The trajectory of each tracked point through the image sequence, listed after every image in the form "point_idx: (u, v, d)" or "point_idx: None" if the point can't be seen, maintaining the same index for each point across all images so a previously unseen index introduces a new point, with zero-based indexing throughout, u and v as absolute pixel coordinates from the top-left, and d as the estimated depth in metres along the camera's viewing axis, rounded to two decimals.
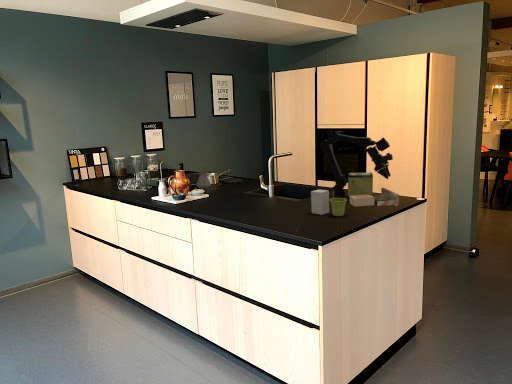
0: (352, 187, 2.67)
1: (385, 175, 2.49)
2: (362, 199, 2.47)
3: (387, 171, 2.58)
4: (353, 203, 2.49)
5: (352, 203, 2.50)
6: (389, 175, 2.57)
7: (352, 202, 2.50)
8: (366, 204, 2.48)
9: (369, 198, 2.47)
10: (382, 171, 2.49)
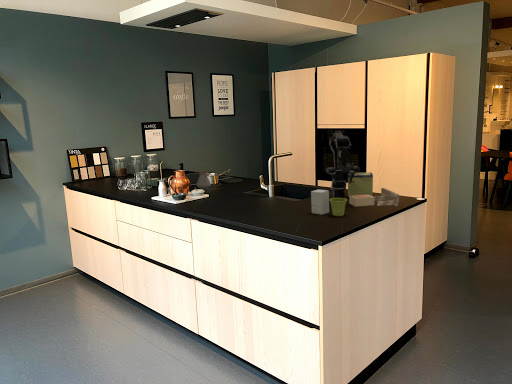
0: (352, 187, 2.67)
1: (333, 180, 2.48)
2: (363, 199, 2.47)
3: (350, 178, 2.48)
4: (353, 203, 2.49)
5: (353, 203, 2.50)
6: (349, 182, 2.49)
7: (352, 202, 2.50)
8: (366, 204, 2.48)
9: (369, 198, 2.48)
10: (333, 175, 2.47)
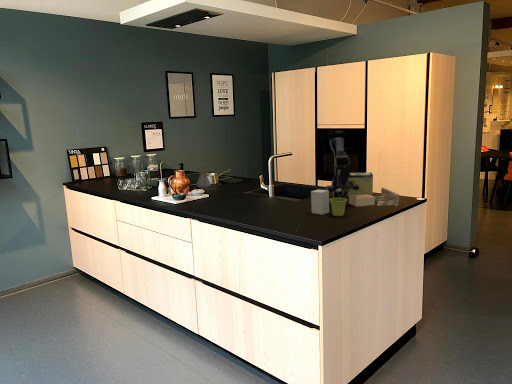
0: None
1: None
2: (363, 199, 2.47)
3: (342, 196, 2.50)
4: (354, 203, 2.48)
5: (353, 203, 2.49)
6: None
7: (353, 202, 2.50)
8: (367, 204, 2.48)
9: (370, 198, 2.48)
10: None
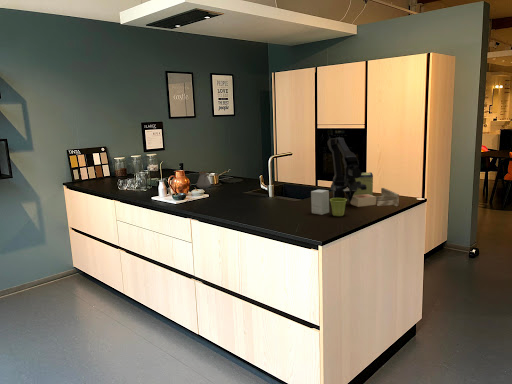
0: None
1: (348, 197, 2.51)
2: (365, 199, 2.47)
3: (350, 196, 2.50)
4: (356, 203, 2.48)
5: (355, 203, 2.49)
6: None
7: (354, 202, 2.49)
8: (368, 204, 2.48)
9: (371, 197, 2.48)
10: (347, 192, 2.50)
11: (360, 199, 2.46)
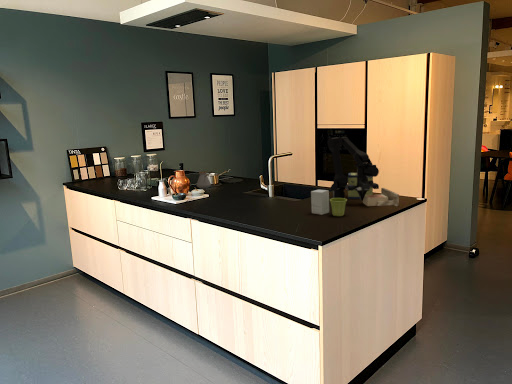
0: None
1: (360, 196, 2.51)
2: (375, 199, 2.46)
3: (362, 195, 2.51)
4: (366, 203, 2.49)
5: (366, 202, 2.50)
6: None
7: (365, 201, 2.50)
8: None
9: (382, 198, 2.46)
10: None
11: (370, 199, 2.46)
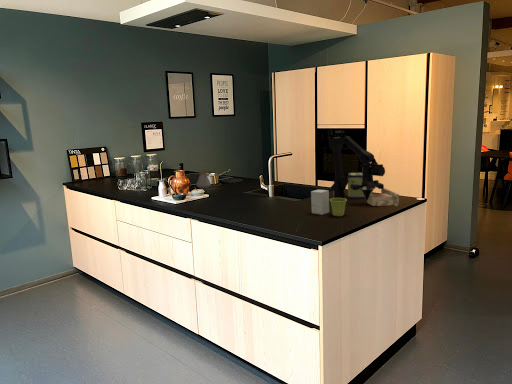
0: None
1: (365, 196, 2.52)
2: (380, 198, 2.47)
3: None
4: (371, 202, 2.49)
5: (370, 202, 2.50)
6: (366, 199, 2.52)
7: (370, 201, 2.50)
8: None
9: (387, 197, 2.47)
10: None
11: (375, 198, 2.46)
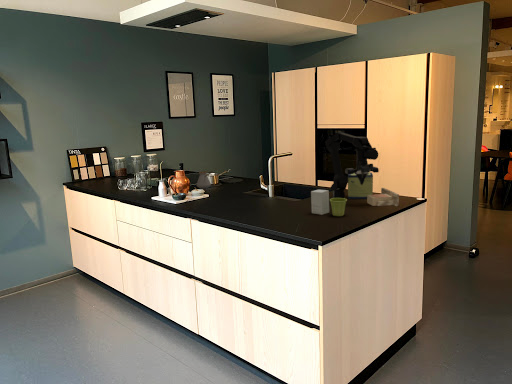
0: (352, 187, 2.67)
1: (359, 180, 2.50)
2: (380, 198, 2.47)
3: (362, 179, 2.49)
4: (371, 202, 2.49)
5: (370, 202, 2.50)
6: None
7: (370, 201, 2.50)
8: None
9: (387, 197, 2.47)
10: (359, 175, 2.49)
11: (375, 198, 2.46)
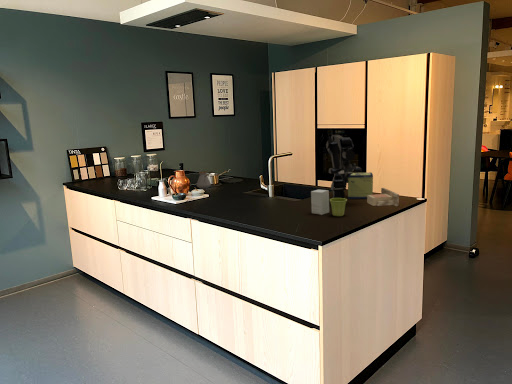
0: (352, 187, 2.67)
1: (343, 180, 2.53)
2: (380, 198, 2.47)
3: (345, 178, 2.52)
4: (371, 202, 2.49)
5: (370, 202, 2.50)
6: None
7: (370, 201, 2.50)
8: None
9: (387, 197, 2.47)
10: None
11: (375, 198, 2.46)
